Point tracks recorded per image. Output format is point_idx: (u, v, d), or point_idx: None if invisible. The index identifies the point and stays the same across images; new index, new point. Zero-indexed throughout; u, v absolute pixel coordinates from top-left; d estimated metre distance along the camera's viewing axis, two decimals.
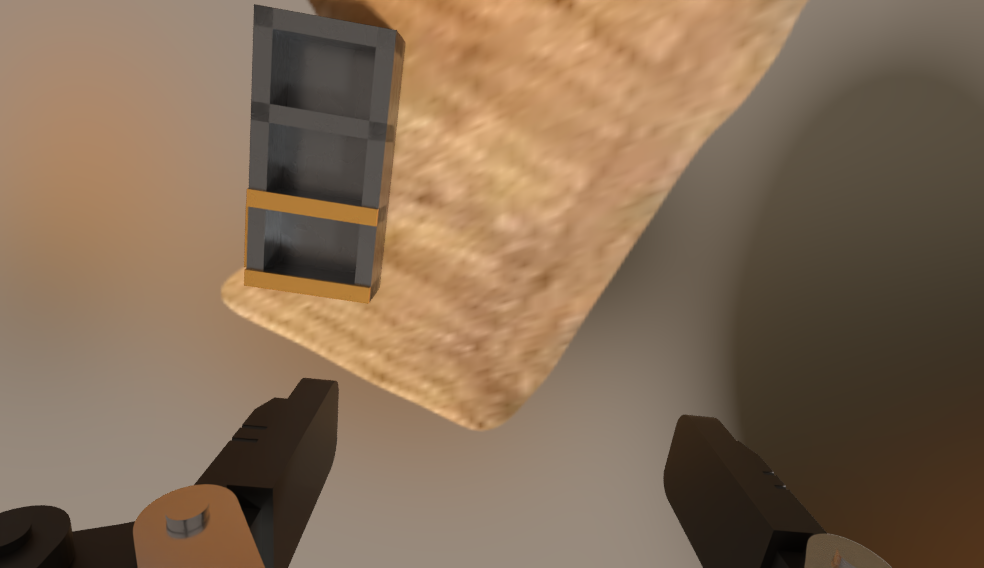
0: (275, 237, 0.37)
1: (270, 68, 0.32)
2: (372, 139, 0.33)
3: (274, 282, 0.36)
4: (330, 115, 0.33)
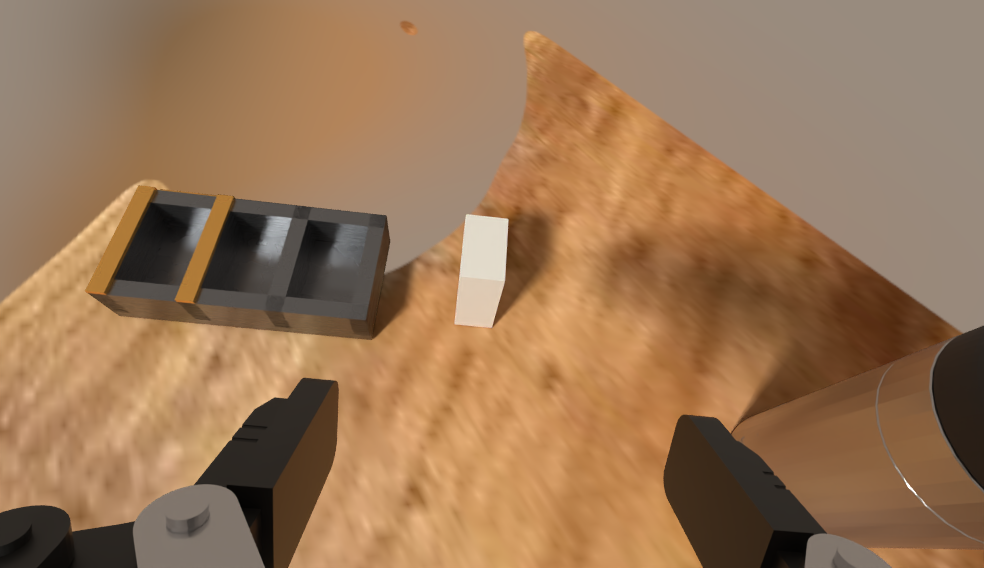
0: (191, 220, 0.39)
1: (337, 222, 0.38)
2: (267, 299, 0.34)
3: (134, 209, 0.36)
4: (293, 264, 0.36)
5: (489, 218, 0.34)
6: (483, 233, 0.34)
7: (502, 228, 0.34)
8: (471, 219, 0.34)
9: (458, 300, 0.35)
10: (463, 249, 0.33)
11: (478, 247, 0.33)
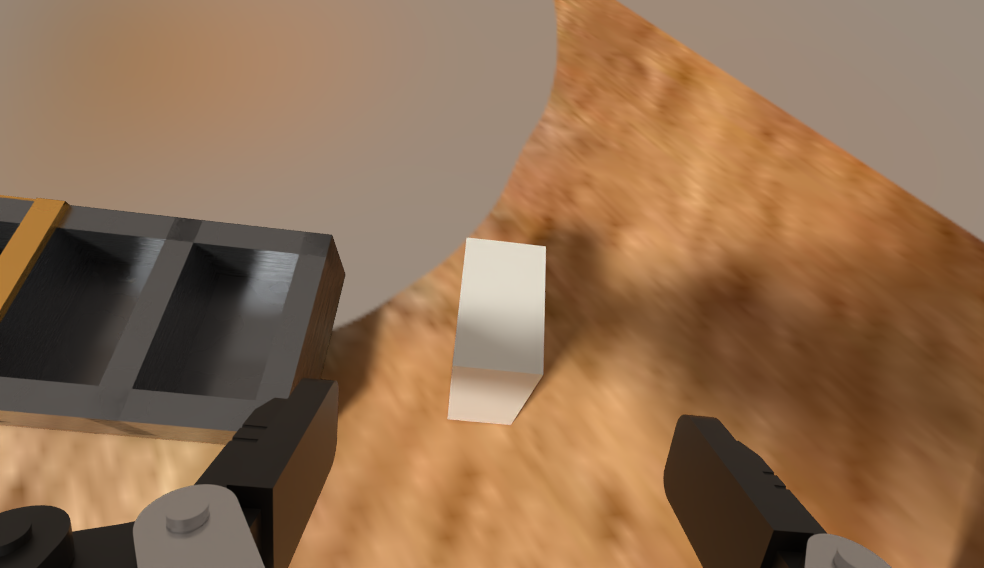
0: (3, 241, 0.23)
1: (244, 247, 0.22)
2: (95, 394, 0.18)
3: None
4: (156, 325, 0.20)
5: (510, 245, 0.18)
6: (500, 274, 0.18)
7: (535, 264, 0.18)
8: (477, 248, 0.18)
9: (452, 395, 0.19)
10: (461, 308, 0.17)
11: (491, 302, 0.17)
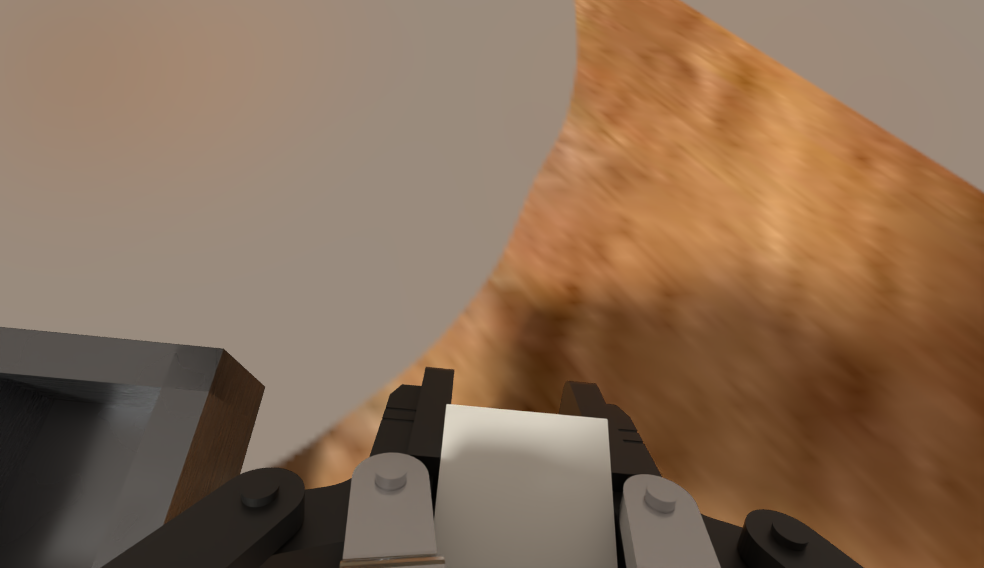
0: None
1: (66, 376, 0.13)
2: None
3: None
4: None
5: (537, 419, 0.09)
6: (518, 493, 0.08)
7: (589, 463, 0.09)
8: (467, 429, 0.09)
9: None
10: None
11: None
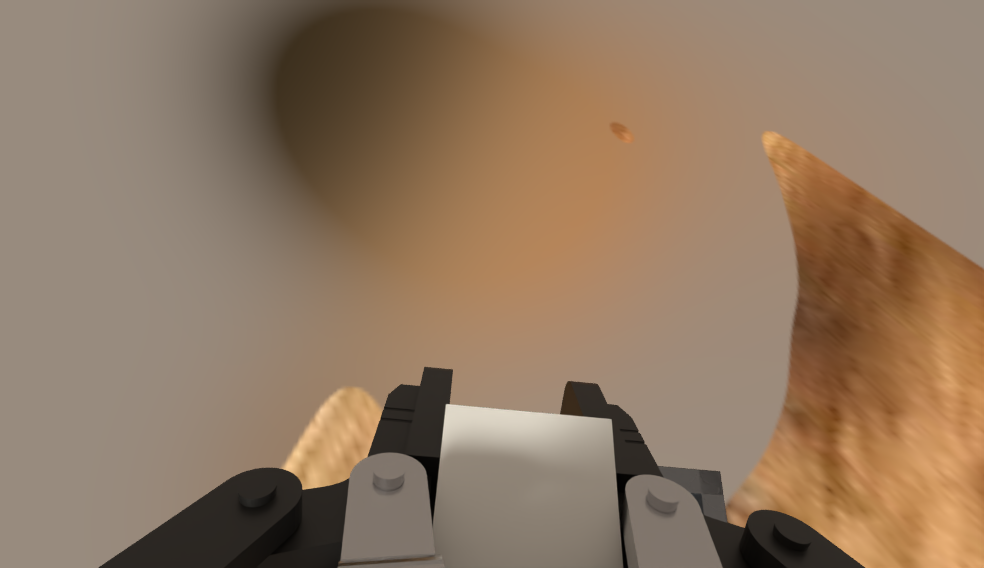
0: None
1: None
2: None
3: None
4: None
5: (539, 420, 0.09)
6: (519, 496, 0.08)
7: (592, 464, 0.08)
8: (467, 429, 0.08)
9: None
10: None
11: None
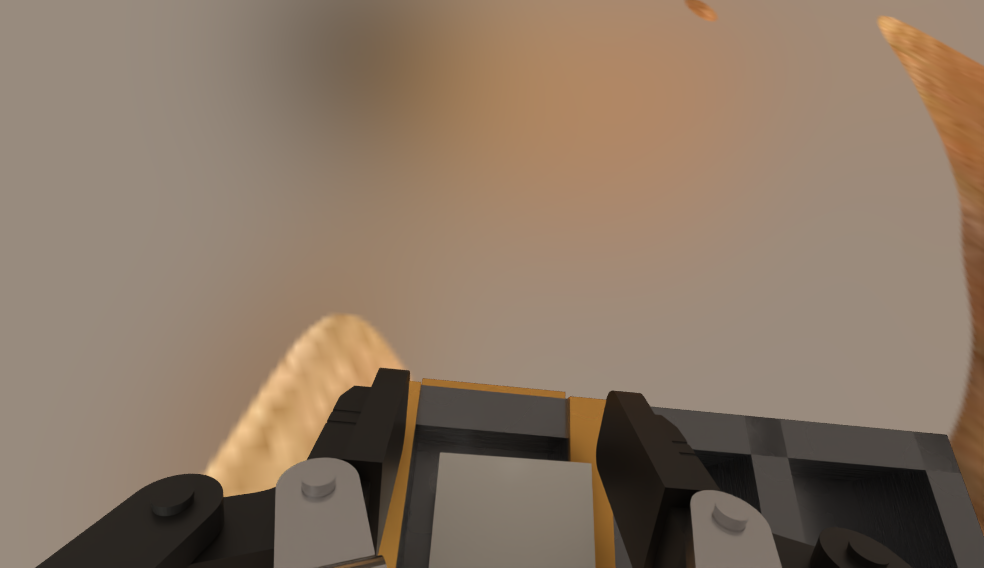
0: (481, 442, 0.16)
1: (853, 461, 0.15)
2: None
3: None
4: None
5: (524, 466, 0.10)
6: (506, 538, 0.09)
7: (573, 507, 0.09)
8: (459, 476, 0.09)
9: None
10: None
11: None
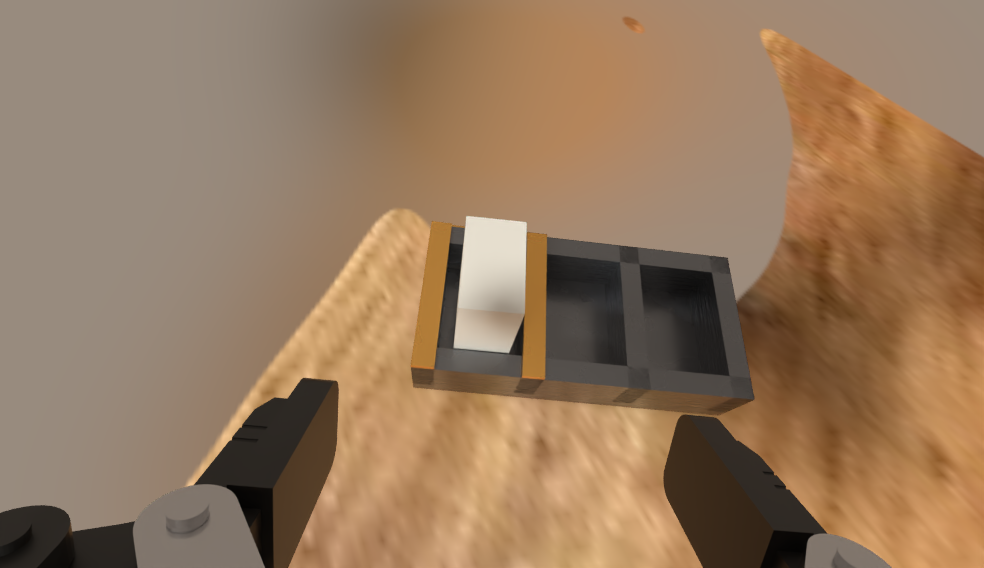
0: None
1: (674, 267, 0.30)
2: (628, 372, 0.27)
3: (437, 252, 0.28)
4: (643, 324, 0.28)
5: (499, 221, 0.24)
6: (492, 242, 0.23)
7: (518, 235, 0.24)
8: (474, 223, 0.24)
9: (456, 337, 0.25)
10: (463, 267, 0.23)
11: (485, 263, 0.23)
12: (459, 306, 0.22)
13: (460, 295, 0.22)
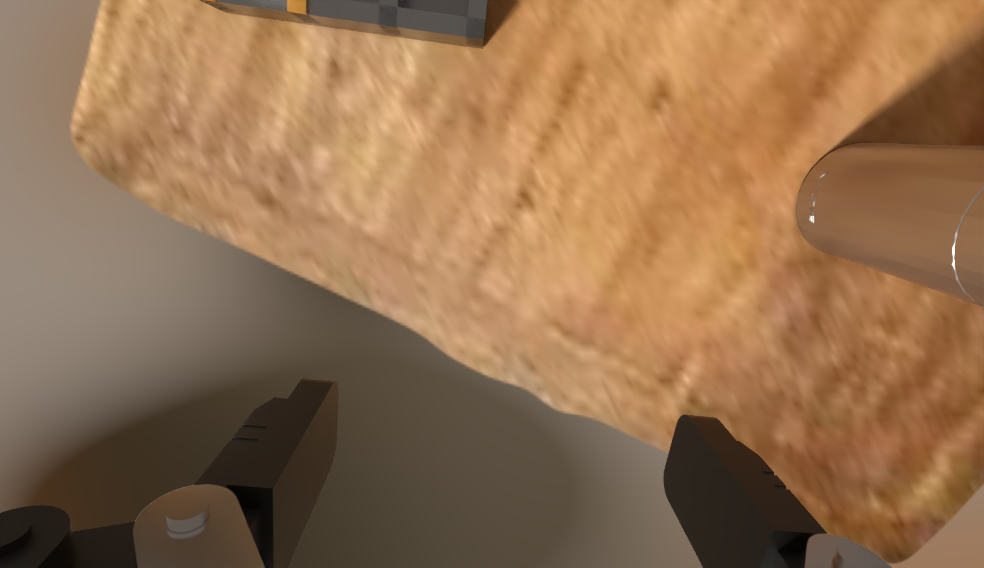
0: None
1: None
2: (379, 9, 0.32)
3: None
4: None
5: None
6: None
7: None
8: None
9: None
10: None
11: None
12: None
13: None
